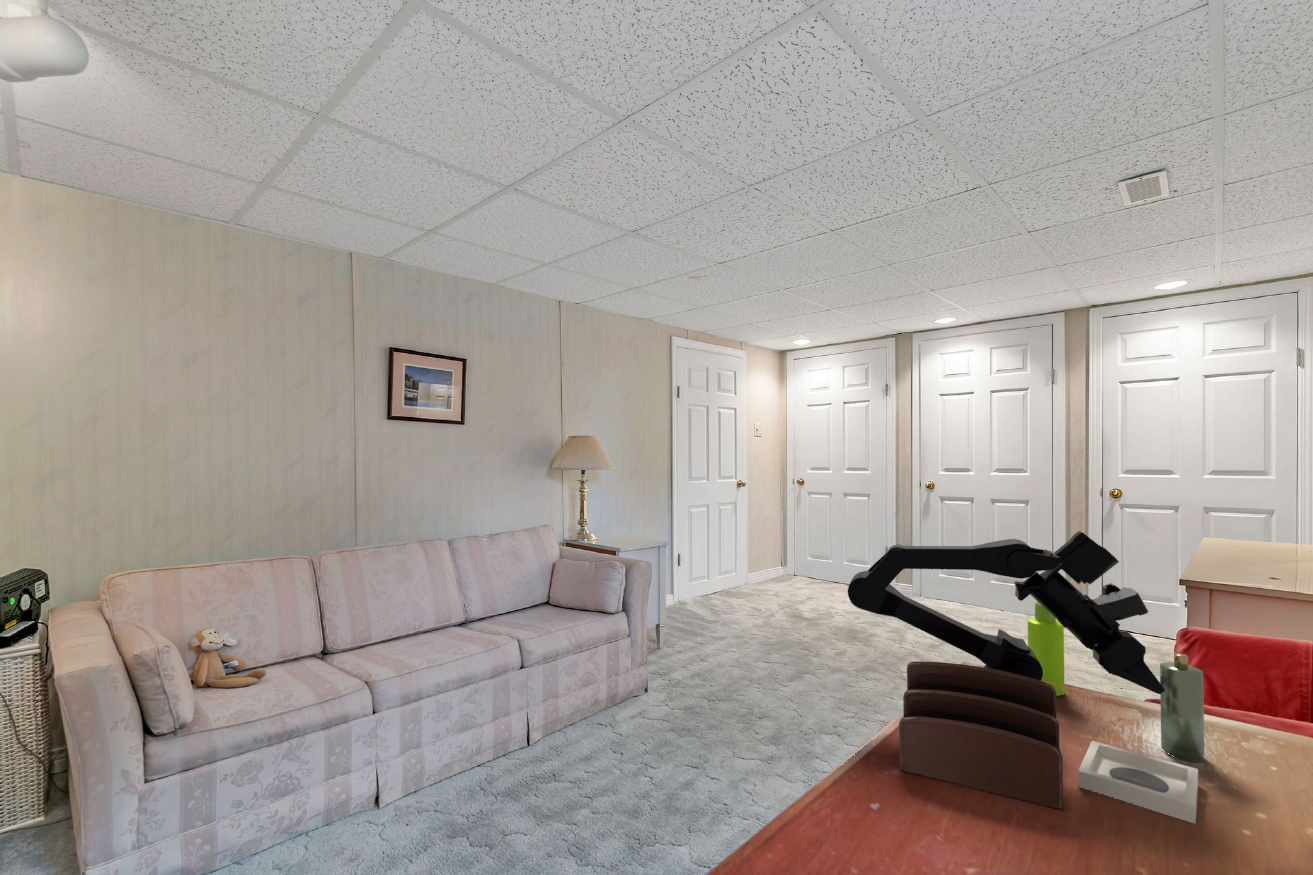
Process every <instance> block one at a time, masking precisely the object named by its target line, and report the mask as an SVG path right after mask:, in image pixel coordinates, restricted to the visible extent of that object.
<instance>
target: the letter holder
mask: <svg viewBox="0 0 1313 875" xmlns="http://www.w3.org/2000/svg"><path fill="white" fill-rule="evenodd" d="M906 685H907V686H906V687H907V688H906V691H905V692H904V693H903V695H902V696H903V698H902V701H903V705H902V706H903V710H902V711H903V717H902V718H901V719H900V720H899V722H898V732H899V734H898V735H899V736H898V739H899V741H898V742H899V744H898V745H899V749H898V755H899V758H898V760H899V764H898V765H899V771H902V772H905V773H908V774H913V775H917V776H921V777H925V778H928V779H933V780H937V781H940V782H945V783H950V784H952V785H953V784H954V785H957V786H961V787H966V788H970V789H973V790H979V791H982V792H986V793H989V794H994V795H998V796H1002V797H1007V798H1010V799H1015V800H1019V801H1021V802H1022V801H1023V802H1027V803H1031V804H1035V805H1039V806H1043V807H1047V808H1052V809H1054V810H1055V809H1056V810H1059V811H1064V807H1065V806H1064V783H1063V782H1064V779H1063V778H1064V772H1063V771H1064V769H1063V768H1064V767H1063V764H1064V763H1063V761H1064V760H1063V754H1062V752H1061V751H1060V749H1061V748H1060V724H1059V721H1058V719H1057V708H1058V706H1057V696H1056V691H1055V689H1054V687H1053V686H1052V685H1050V684H1048V683H1046V682H1044V681H1040V680H1037V679H1033V678H1030V677H1026V676H1022V675H1018V674H1014V673H1010V672H1005V671H1000V670H995V669H990V668H984V666H977V665H969V664H960V663H953V662H944V661H943V662H941V661H920V660H919V661H918V660H917V661H911V662H909V663H908V664H907V666H906Z"/></svg>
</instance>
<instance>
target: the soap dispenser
mask: <svg viewBox="0 0 1313 875" xmlns="http://www.w3.org/2000/svg"><path fill="white" fill-rule="evenodd" d="M1064 632H1065V627H1064V626H1063V625H1062V624H1060V623H1059V621H1058V620H1057V619H1056V618H1055V617H1054V616H1053V615H1052V614H1051V613H1049V612H1048V611H1047V610H1046V609H1045V608H1044V607H1043V606H1042V605H1041V604H1040V603H1039V602H1038V601H1035V603H1034V617H1031V618H1028V619H1027V646H1028V647H1029V648H1030V649H1031V650H1032V651H1033V652H1034V654H1035V656H1036V657H1037V659H1038V661H1039V662H1040V664H1041V666H1042V669H1043V676H1042V680H1041V681H1045V682H1050V683H1048V684H1050V685H1052V686H1053V687H1054V689H1055V691H1056V697H1061V696H1060V695H1062V696H1063V695H1065V633H1064ZM1052 683H1056V684H1052ZM1057 684H1061V685H1064V686H1060V685H1057Z"/></svg>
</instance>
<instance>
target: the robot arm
mask: <svg viewBox="0 0 1313 875" xmlns="http://www.w3.org/2000/svg"><path fill="white" fill-rule="evenodd" d="M1119 563H1120V561H1119V560H1118V559H1117V558H1116V556H1114V555H1113V554H1112V553H1111V552H1109V550H1107V549H1106V548H1105V547H1103V546H1102V545H1100V544H1098V543H1097V542H1095V541H1094V540H1093V539H1092V538H1091V537H1089V536H1088V535H1086V534H1085V533H1084V532H1082V531H1079V530H1078V531H1076V533H1074V534H1073V535H1071V537H1070V539H1069V540H1068V541H1066V542H1065V543H1064V544H1063V545H1062V546H1060V547H1059V548H1058V549H1057V550H1056V551H1054V552H1053V551H1051V550H1048V549H1041V548H1037V547H1036V548H1035V547H1032V546H1030V545H1028V544H1027V542H1025V541H1023V540H1021V539H1016V538H1008V539H1001V540H996V541H991V542H986V543H982V544H977V545H903V544H893V545H891V546H890V547H889V548H888V549H887V551H886V553H885V554H883V555H882V556H881V557H880V558H879V559H877V561H876V562H874V564H872V565H871V566H870V568H869V569H868V570H863V571H858V572H857V573H856V574H855V575H854V576H853V577H852V578H851V580H850V582H849V585H848V587H847V588H848V589H847V596H848V598H849V602H850V604H852V605H853V606H854V607H856V608H857V609H859V610H863V611H866V612H870V613H872V614H875V615H880V616H886V617H892V618H895V619H898V620H899V621H902V622H903V623H906V624H908V625H910V626H912V627H913V628H916V629H918V630H920V631H922V632H924V633H926V634H928V635H930V636H933V637H935V638H936V639H938V640H940V641H942V642H945V643H947V644H948V645H951V646H953V647H955V648H957V649H959V650H961V651H963V652H965V653H967V654H969V655H971V656H973V657H975V658H977V659H978V660H979V661H980V662H981V663H983V664H984V666H983V667H984V668H990V669H995V670H1000V671H1005V672H1010V673H1014V674H1018V675H1022V676H1026V677H1030V678H1033V679H1037V680H1040V681H1041V680H1042V676H1043V669H1042V666H1041V664H1040V662H1039V661H1038V659H1037V657H1036V656H1035V654H1034V652H1033V651H1032V650H1031V649H1030V648H1029V647H1028V644H1027V643H1026V641H1025V640H1024V638H1018V637H1014V636H1012V635H1010V634H1009V633H1007V632H1006V631H1004V630H1003V629H1001V628H999V629H998V632H997V635H993V634H989V633H984V632H981V631H979V630H977V629H975V628H973V627H970V626H968V625H966V624H965V623H962V622H961V621H958V620H956V619H954V618H952V617H950V616H947V615H946V614H943V613H941V612H939V611H937V610H935V609H933V608H931V607H928V606H926V605H925V604H922V603H920V602H919V601H916V600H915V599H912V598H910V597H908V596H905V595H904V594H903V593H901V592H900V591H899V590H898V589H896V588H895V587H894V586H893V585H892V584H891V583H892V582H893V581H894V579H896V577H897V576H898V575H899V574H900V573H901V572H902V571H903V570H907V569H908V570H913V569H914V570H954V571H955V570H959V571H960V570H961V571H962V570H964V571H965V570H966V571H967V570H970V571H979V572H985V573H989V574H992V575H997V576H1002V577H1007V578H1008V577H1009V578H1014V579H1023V580H1024V579H1025V580H1024V581H1014V582H1013V583H1014V587H1015V591H1014V595H1015V597H1016V598H1017V599H1018V601H1020V602H1021V601H1023V600H1025V599H1026V598H1027V597H1029V596H1031V597H1032V598H1033V599H1034V600H1036V602H1039V603H1040V604H1041V605H1042V606H1043V607H1044V608H1045V609H1046V610H1047V611H1048V612H1049V613H1051V614H1052V615H1053V616H1054V617H1055V618H1056V621H1059V623H1060V624H1062V625H1063V626H1064V628H1065V629H1067V630H1068V631H1069V632H1070V633H1071V634H1072V635H1073V636H1074V637H1075V638H1076V639H1077V640H1078V641H1079V642H1080V643H1081V644H1082V645H1083V646H1084V647H1085V648H1086V649H1089V650H1091V651H1092V657H1093V659H1094V660H1095V661H1096V662H1097V663H1098V665H1099V666H1101V668H1102V669H1103V670H1105V671H1106V672H1107V673H1108V674H1109V675H1112V676H1116V677H1119V678H1122V679H1124V680H1126V681H1128V682H1130V683H1133V684H1135V685H1138V686H1140V687H1141V688H1143V689H1144V688H1145V689H1146V690H1148V691H1150V692H1153V693H1155V694H1158V695H1160V694H1161V693H1163V692H1164V691H1165V689H1164V687H1163V686H1162V685H1161V684H1160V680H1158V678H1157V677H1156V675H1155V674H1154V673H1153V671H1152V670H1151V669H1150V668H1149V666H1148V665H1147V664H1146V662H1145V654H1147V650H1146V647H1145V645H1143V644H1142V643H1141V642H1140V641H1139V640H1138V639H1137V638H1136V637H1134V636H1133V635H1132V634H1131V633H1130V632H1128V631H1123V630H1120V626H1121V624H1120V623H1119V622H1118V621H1123V620H1124V619H1125V620H1126V619H1129V618H1132V617H1136V616H1144V615H1146V614H1148V613H1149V610H1148V608H1147V606H1146V605H1145V602H1144V601H1143V599H1142V597H1141V595H1140V594H1139V592H1137V591H1136V590H1135V589H1133V588H1130V587H1122V588H1120V587H1118V586H1116V585H1115V584H1114V583H1111V582H1109V583H1106V584H1104V585H1102V586H1101V588H1102V590H1101V594H1099V595H1098V596H1097V597H1096V598H1094V599H1091V598H1090V597H1089V596H1088V595H1087V594H1085V593H1084V594H1083V593H1082V592H1081V591H1080V590H1079V589H1078V588H1077V587H1075V585H1074V584H1072V583H1071V582H1070V581H1069V580H1068V579H1067V578H1065V577H1064V575H1062V573H1060V571H1062V572H1064V573H1066V575H1067V576H1069V577H1070V578H1071V579H1072V580H1073V581H1074V582H1075V583H1077V585H1080V584H1081V583H1083V584H1084V585H1085V584H1086V583H1087V584H1088V585H1091V584H1093V583H1094V582H1096V581H1097V580H1098V579H1099V578H1100V577H1102V576H1103V575H1105V573H1107V572H1108V571H1110V570H1111V569H1112V568H1114V566H1116V565H1117V564H1119ZM1042 571H1043V572H1042ZM1039 572H1041V573H1039Z"/></svg>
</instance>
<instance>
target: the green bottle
mask: <svg viewBox="0 0 1313 875" xmlns="http://www.w3.org/2000/svg"><path fill="white" fill-rule="evenodd" d="M1159 682H1160V684H1161V685H1162V686H1163V687H1164V689H1165V691H1164V692H1163V693H1161V694H1159V695H1160V697H1159V698H1160V701H1159V702H1160V739H1161V740H1160V749H1161V748H1162V749H1163V750H1164V751H1165V752H1166V753H1169V754H1170V755H1173V756H1174V757H1175V758H1174V757H1173V758H1174V759H1176V758H1178V759H1177V760H1180V761H1183V760H1184V761H1185V762H1189V763H1203V762H1204V761H1205V760H1206V758H1205V715H1204V714H1205V707H1204V704H1205V703H1204V671H1203V670H1202V669H1200V668H1198V667H1195V666H1192V665H1189V656H1188V655H1187V654H1184V653H1180V652H1179V653H1178V652H1176V653H1173V662H1169V661H1168V662H1166V661H1165V662H1161V663H1160V664H1159ZM1184 761H1183V762H1184Z"/></svg>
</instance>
